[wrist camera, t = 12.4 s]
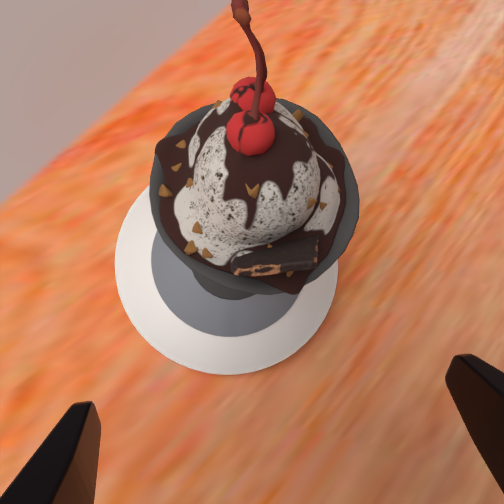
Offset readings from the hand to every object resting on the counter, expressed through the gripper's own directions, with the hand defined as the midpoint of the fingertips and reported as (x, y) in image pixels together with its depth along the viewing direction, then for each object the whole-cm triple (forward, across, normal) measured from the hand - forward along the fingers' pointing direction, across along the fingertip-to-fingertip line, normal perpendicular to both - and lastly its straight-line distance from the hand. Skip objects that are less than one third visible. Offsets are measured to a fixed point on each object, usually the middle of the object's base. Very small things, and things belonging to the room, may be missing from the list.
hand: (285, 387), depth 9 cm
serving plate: (+13, 0, +5) cm, 14 cm away
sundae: (+12, 0, +4) cm, 13 cm away
